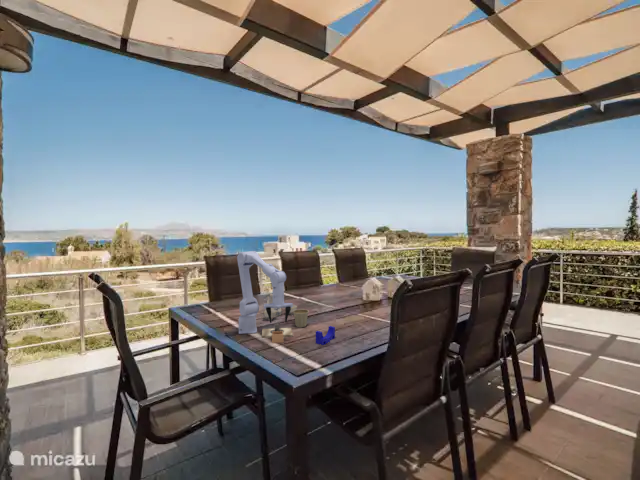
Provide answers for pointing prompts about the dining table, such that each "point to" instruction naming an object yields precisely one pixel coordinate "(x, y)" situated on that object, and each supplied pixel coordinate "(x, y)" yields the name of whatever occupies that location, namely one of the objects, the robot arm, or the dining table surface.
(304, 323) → the flower pot
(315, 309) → the dining table surface
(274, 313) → the chinaware
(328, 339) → the cable clip
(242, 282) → the robot arm
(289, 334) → the post plate
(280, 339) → the collar
